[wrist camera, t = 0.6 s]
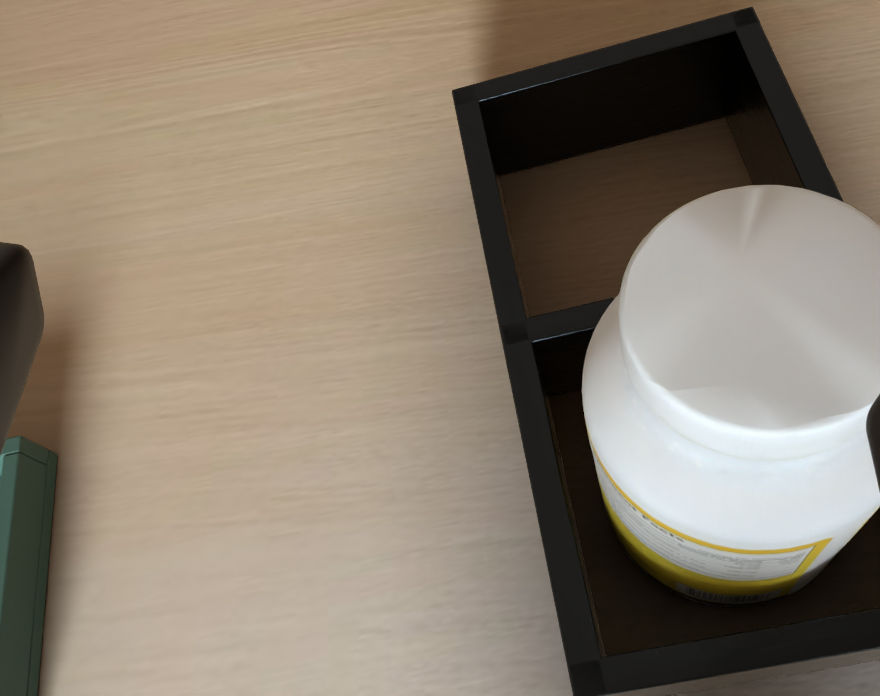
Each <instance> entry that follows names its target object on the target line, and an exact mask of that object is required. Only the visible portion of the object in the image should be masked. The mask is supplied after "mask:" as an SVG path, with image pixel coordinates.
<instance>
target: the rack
mask: <svg viewBox="0 0 880 696" xmlns="http://www.w3.org/2000/svg"><path fill="white" fill-rule="evenodd" d="M452 95H453V100H454V105H455V110H456V115H457V120H458V125H459V130H460V135H461V140H462V145H463V150H464V155H465V160H466V165H467V170H468V175H469V180H470V185H471V190H472V195H473V200H474V204H475V209H476V214H477V219H478V224H479V229H480V234H481V239H482V244H483V249H484V254H485V259H486V264H487V269H488V274H489V279H490V284H491V289H492V294H493V299H494V304H495V309H496V314H497V319H498V324H499V329H500V334H501V339H502V344H503V349H504V354H505V359H506V364H507V368H508V373H509V378H510V383H511V388H512V393H513V398H514V403H515V408H516V413H517V418H518V423H519V428H520V433H521V438H522V443H523V448H524V453H525V458H526V463H527V468H528V473H529V478H530V483H531V488H532V493H533V498H534V503H535V508H536V513H537V518H538V523H539V528H540V532H541V537H542V542H543V547H544V552H545V557H546V562H547V567H548V572H549V577H550V582H551V587H552V592H553V597H554V602H555V607H556V612H557V617H558V622H559V627H560V632H561V637H562V642H563V647H564V652H565V657H566V662H567V667H568V672H569V677H570V682H571V687H572V692H573V696H671V695H677V694H683V693H689V692H695V691H700V690H706V689H712V688H718V687H724V686H730V685H736V684H742V683H748V682H753V681H759V680H765V679H771V678H777V677H783V676H789V675H795V674H801V673H807V672H812V671H818V670H824V669H830V668H836V667H842V666H848V665H854V664H860V663H865V662H871V661H877V660H880V608H875V609H869V610H864V611H858V612H852V613H847V614H841V615H836V616H830V617H824V618H819V619H813V620H807V621H802V622H796V623H791V624H785V625H779V626H774V627H768V628H763V629H757V630H751V631H746V632H740V633H734V634H729V635H723V636H718V637H712V638H706V639H701V640H695V641H690V642H684V643H678V644H673V645H667V646H661V647H656V648H650V649H645V650H639V651H633V652H628V653H622V654H616V655H611V656H606V655H605V651H604V646H603V642H602V637H601V633H600V628H599V624H598V619H597V615H596V610H595V606H594V601H593V597H592V592H591V588H590V583H589V579H588V574H587V570H586V565H585V561H584V557H583V552H582V548H581V543H580V539H579V534H578V530H577V525H576V521H575V516H574V512H573V507H572V503H571V498H570V494H569V489H568V485H567V480H566V476H565V471H564V467H563V462H562V458H561V453H560V449H559V444H558V440H557V436H556V431H555V427H554V422H553V418H552V413H551V409H550V404H549V400H548V397H550V396H554V395H559V394H563V393H567V392H572V391H576V390H581V389H582V376H583V367H584V362H585V357H586V352H587V349H588V346H589V343H590V340H591V338H592V335H593V332H594V330H595V328H596V326H597V324H598V322H599V321H600V319H601V317H602V316H603V314H604V312H605V311H606V310H607V308H608V307H609V305H610V304H611V303H612V301H613V300H614V299H615V298H616V297H614V298H610V299H606V300H602V301H598V302H593V303H589V304H585V305H581V306H576V307H572V308H568V309H564V310H560V311H555V312H551V313H547V314H543V315H539V316H534V317H530V315H529V310H528V306H527V301H526V297H525V292H524V288H523V283H522V279H521V274H520V270H519V265H518V261H517V256H516V252H515V247H514V243H513V238H512V234H511V229H510V225H509V220H508V216H507V211H506V207H505V202H504V198H503V193H502V189H501V185H500V180H499V176H501V175H504V174H508V173H512V172H516V171H520V170H523V169H527V168H531V167H535V166H539V165H543V164H546V163H550V162H554V161H558V160H562V159H565V158H569V157H573V156H577V155H581V154H584V153H588V152H592V151H596V150H600V149H604V148H607V147H611V146H615V145H619V144H623V143H626V142H630V141H634V140H638V139H642V138H645V137H649V136H653V135H657V134H661V133H664V132H668V131H672V130H676V129H680V128H684V127H687V126H691V125H695V124H699V123H703V122H706V121H710V120H714V119H718V118H722V117H725V116H726V119H727V121H728V124H729V126H730V128H731V131H732V133H733V136H734V138H735V141H736V143H737V146H738V148H739V151H740V153H741V155H742V158H743V160H744V163H745V165H746V168H747V170H748V173H749V175H750V177H751V180H752V182H753V185H783V186H790V187H797V188H803V189H807V190H811V191H814V192H818V193H821V194H823V195H826V196H829V197H832V198H835V199H838V200H840V201H842V202H843V200H842V197H841V195H840V193H839V191H838V189H837V187H836V185H835V182H834V180H833V178H832V176H831V174H830V172H829V170H828V168H827V165H826V163H825V161H824V159H823V157H822V155H821V153H820V150H819V148H818V146H817V144H816V142H815V140H814V138H813V135H812V133H811V131H810V129H809V127H808V125H807V123H806V120H805V118H804V116H803V114H802V112H801V110H800V108H799V105H798V103H797V101H796V99H795V97H794V95H793V93H792V91H791V88H790V86H789V84H788V82H787V80H786V78H785V76H784V73H783V71H782V69H781V67H780V65H779V63H778V61H777V58H776V56H775V54H774V52H773V50H772V48H771V46H770V43H769V41H768V39H767V37H766V35H765V33H764V31H763V28H762V26H761V24H760V21H759V19H758V17H757V15H756V13H755V11H754V9H753V7H749V8H745V9H741V10H738V11H734V12H731V13H727V14H724V15H720V16H716V17H713V18H709V19H706V20H702V21H699V22H695V23H691V24H688V25H684V26H681V27H677V28H673V29H670V30H666V31H663V32H659V33H656V34H652V35H648V36H645V37H641V38H638V39H634V40H630V41H627V42H623V43H620V44H616V45H613V46H609V47H605V48H602V49H598V50H595V51H591V52H587V53H584V54H580V55H577V56H573V57H570V58H566V59H562V60H559V61H555V62H552V63H548V64H544V65H541V66H537V67H534V68H530V69H527V70H523V71H519V72H516V73H512V74H509V75H505V76H501V77H498V78H494V79H491V80H487V81H484V82H480V83H476V84H473V85H469V86H466V87H462V88H458V89H455V90H452Z"/></svg>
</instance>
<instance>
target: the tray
mask: <svg viewBox="0 0 880 696" xmlns="http://www.w3.org/2000/svg"><path fill="white" fill-rule="evenodd" d="M56 467H57V454H56V453H54V452H52V451H50V450H48V449H46V448H44V447H42V446H40V445H38V444H36V443H34V442H32V441H30V440H28V439H27V438H25V437H23V436H16V437H12V438H8V439H6V442H5V445H4V447H3V450H2V452H1V455H0V696H37V694H38V682H39V670H40V658H41V646H42V635H43V623H44V611H45V599H46V587H47V575H48V563H49V551H50V539H51V527H52V515H53V503H54V491H55V479H56Z"/></svg>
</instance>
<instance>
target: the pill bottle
mask: <svg viewBox="0 0 880 696" xmlns="http://www.w3.org/2000/svg"><path fill="white" fill-rule="evenodd" d="M879 394H880V226H879V225H878V224H877V223H875V222H874V221H873V220H872V219H870V218H869V217H868V216H867V215H865V214H863V213H862V212H860V211H858V210H857V209H855V208H854V207H852V206H850V205H848V204H847V203H845V202H842V201H840V200H838V199H835V198H832V197H829V196H826V195H823V194H821V193H818V192H814V191H811V190H807V189H803V188H797V187H790V186H783V185H749V186H743V187H737V188H731V189H725V190H721V191H717V192H714V193H711V194H708V195H705V196H702V197H700V198H698V199H695V200H693V201H691V202H689V203H687V204H685V205H684V206H682V207H680V208H678V209H677V210H675V211H673V212H672V213H671V214H669V215H668V216H667V217H665V218H664V219H663V220H661V221H660V222H659V223H658V224H657V225H656V226H655V227H654V228H653V229H652V230H651V231H650V232H649V233H648V234H647V235H646V237H645V238H644V239H643V240H642V241H641V243H640V244H639V246H638V247H637V248H636V250H635V252H634V253H633V255H632V257H631V259H630V261H629V263H628V265H627V268H626V270H625V273H624V276H623V280H622V284H621V289H620V293H619V294H618V296H617V297H616V298H615V299H614V300H613V301H612V303H611V304H610V305H609V307H608V308H607V310H606V311H605V312H604V314H603V316H602V317H601V319H600V321H599V322H598V324H597V326H596V328H595V330H594V332H593V335H592V338H591V340H590V343H589V346H588V349H587V352H586V357H585V362H584V367H583V376H582V399H583V409H584V415H585V421H586V427H587V432H588V437H589V441H590V445H591V449H592V453H593V457H594V461H595V466H596V471H597V475H598V480H599V484H600V488H601V492H602V497H603V501H604V505H605V509H606V513H607V516H608V519H609V522H610V524H611V527H612V529H613V532H614V534H615V536H616V538H617V540H618V542H619V543H620V545H621V546H622V548H623V550H624V551H625V552H626V554H627V555H628V556H629V557H630V559H631V560H632V561H633V562H634V563H635V564H636V565H637V566H638V568H639V569H640V570H642V571H643V572H644V573H645V574H646V575H647V576H648V577H649V578H651V579H652V580H654V581H655V582H656V583H658V584H659V585H661V586H662V587H664V588H666V589H668V590H669V591H671V592H673V593H675V594H677V595H679V596H682V597H684V598H686V599H689V600H692V601H696V602H699V603H703V604H708V605H714V606H721V607H750V606H756V605H762V604H766V603H770V602H773V601H776V600H779V599H781V598H783V597H786V596H788V595H790V594H792V593H794V592H796V591H797V590H799V589H801V588H802V587H803V586H805V585H806V584H808V583H809V582H810V581H812V580H813V579H814V578H815V577H816V576H817V575H818V574H819V573H820V572H821V571H822V570H823V569H824V568H825V567H826V566H827V565H828V564H829V563H830V561H831V560H832V559H833V558H834V557H835V556H836V554H837V553H838V552H839V551H840V550H841V549H842V548H843V547H844V546H845V545H846V544H847V543H848V542H849V541H850V540H851V538H852V537H853V536H854V535H855V534H856V533H857V532H858V531H859V530H860V529H861V528H862V527H863V525H864V524H865V523H866V522H867V521H868V520H869V519H870V517H871V516H872V515H873V514H874V513H875V512H876V511H877V509H878V508H879V507H880V492H879V487H878V483H877V478H876V474H875V469H874V465H873V460H872V456H871V451H870V447H869V442H868V438H867V433H866V419H867V415H868V412H869V409H870V408H871V406H872V404H873V403H874V401H875V400H876V398H877V397H878V396H879Z"/></svg>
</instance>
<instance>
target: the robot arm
mask: <svg viewBox="0 0 880 696" xmlns="http://www.w3.org/2000/svg"><path fill="white" fill-rule="evenodd" d="M43 327H44V313H43V307H42V302H41V297H40V292H39V287H38V282H37V277H36V272H35V267H34V262H33V259H32V256H31V254H30V252H29V250H28V249H26V248H25V247H24V246H22V245H18V244H11V243H3V242H0V455H1V452H2V450H3V447H4V445H5V442H6V439H7V436H8V433H9V430H10V427H11V424H12V421H13V418H14V416H15V413H16V410H17V407H18V404H19V401H20V398H21V395H22V392H23V389H24V387H25V384H26V381H27V378H28V375H29V372H30V369H31V366H32V363H33V360H34V357H35V355H36V352H37V349H38V346H39V343H40V340H41V337H42V333H43ZM866 433H867V438H868V442H869V447H870V451H871V456H872V460H873V465H874V469H875V474H876V478H877V483H878V487H879V492H880V394H879V396H878V397H877V398H876V400H875V401H874V403H873V404H872V406H871V408H870V409H869V412H868V415H867V419H866Z"/></svg>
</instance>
